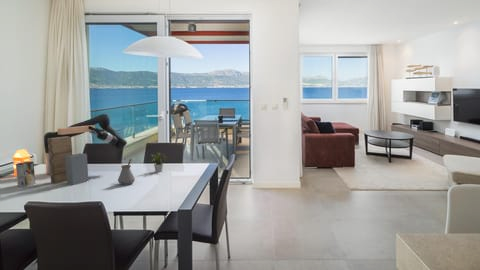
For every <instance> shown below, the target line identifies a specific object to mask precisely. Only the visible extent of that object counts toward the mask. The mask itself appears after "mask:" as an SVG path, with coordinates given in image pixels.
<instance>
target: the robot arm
mask: <svg viewBox="0 0 480 270" xmlns="http://www.w3.org/2000/svg"><path fill="white" fill-rule="evenodd" d="M97 124H98V126H99V127H100V128H101V129H99V128H98V127H95V128H93V127H91V126H90V125H93V126H95V125H97ZM80 126H89V127H88V129H90V130H93V131H90V132H89V134H92V135H95V136H96V138H97V139H98V140H101V141H102V142H105V143H106V144H109V145H111V146H112V148H114V150H116V151H118V152H120V151H122V150H123V149H124V148H125V146H126V145H127V143H128V142H127V139H125V138H123V137H122V136H121V135H120V134H119V133H118V132H117V131H116V129H113V127H112V125H111V121H110V116H109V115H108V114H106V113H104V114H98V115H97V116H94V117H91V118H90V119H87V120H83V121H81V122H78V123H74V124H72V125H69V126H67V127H66V128H69V127H80ZM85 133H86V132H82V133H73V134H64V135H58V130H57V131H53V132H52V131H48V132H46V133H45V134H44V135H43V146H44V147H43V148H44V152H45V171H46V175H49V176H50V163H49V150H48V138H57V137H65V136H67V137H71V138H72V137H76V136H80V135H83V134H85Z"/></svg>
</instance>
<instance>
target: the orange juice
mask: <svg viewBox="0 0 480 270" xmlns="http://www.w3.org/2000/svg"><path fill="white" fill-rule="evenodd" d="M12 161H13V162H12V163H13V171H14V173H13V175H14V177H17V172H16V164H18V163H22V162H31V155H30V154H29V152H28V151H27V150H26V148H23V149H19V150H16V151H15V154H14V155H13V157H12Z"/></svg>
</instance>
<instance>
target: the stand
mask: <svg viewBox="0 0 480 270" xmlns="http://www.w3.org/2000/svg"><path fill="white" fill-rule="evenodd" d="M48 150H49V163H50V175H49V176H50V183H51V184H54V185H57V184H61V183H67V174H66V160H65V156H68V155H73V143H72V137H67V136H65V137H57V138H48Z"/></svg>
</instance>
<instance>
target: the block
mask: <svg viewBox="0 0 480 270" xmlns="http://www.w3.org/2000/svg"><path fill="white" fill-rule="evenodd" d="M90 126H91V127H93V128H96V126H95V125H90ZM68 127H69V126H68ZM88 127H89V126H80V127H69V128H67V127H60V128H59V127H58V128H57V131H58V135H64V134H73V133H82V132H85V133H90V131H93V130H90V129H88Z"/></svg>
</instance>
